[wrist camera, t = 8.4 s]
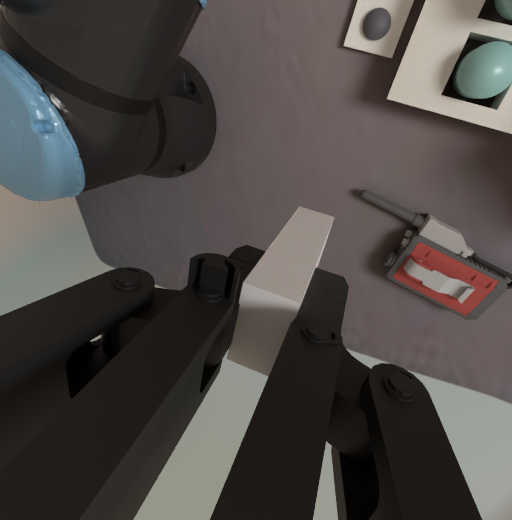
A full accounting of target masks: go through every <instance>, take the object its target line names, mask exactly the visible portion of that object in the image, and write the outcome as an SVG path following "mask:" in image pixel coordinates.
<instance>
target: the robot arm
mask: <svg viewBox="0 0 512 520" xmlns="http://www.w3.org/2000/svg"><path fill="white" fill-rule="evenodd" d="M0 5H1V9H0V184H1V185H2V186H4V187H5V188H6V189H8V190H10V191H11V192H13V193H14V194H17V195H19V196H21V197H24V198H26V199H30V200H35V201H36V200H38V201H49V200H54V199H58V198H64V197H75V196H77V195H79V194H80V193H81V192H84V191H87V190H90V189H94V188H97V187H100V186H103V185H106V184H109V183H113V182H116V181H119V180H122V179H125V178H128V177H132V176H135V175H137V174H143V175H148V176H154V177H159V178H172V177H177V176H180V175H183V174H186V173H188V172H191V171H193V170H194V169H196V168H197V167H198V166H199V165H201V164H202V162H203V161H204V160H205V159H206V157H207V156H208V154H209V152H210V150H211V148H212V146H213V143H214V139H215V134H216V111H215V105H214V101H213V98H212V95H211V92H210V90H209V88H208V86H207V84H206V82H205V80H204V79H203V77H202V76H201V74H200V73H199V72H198V71H197V70H196V68H195V67H194V66H193V65H191V64H190V63H189V62H188V61H187V60H185V59H184V58H182V57H180V56H179V54H180V52H181V50H182V48H183V46H184V44H185V42H186V40H187V38H188V36H189V34H190V32H191V30H192V28H193V26H194V24H195V22H196V20H197V18H198V16H199V14H200V12H201V10H202V9H203V10H204V9H205V7H206V5H207V0H0ZM333 220H334V217H332V216H329V215H325V214H322V213H319V212H316V211H313V210H309V209H306V208H303V207H300V206H299V208H298V209H297V210H296V212H295V213H294V214H293V216H292V217H291V218H290V220H289V221H288V223H287V224H286V225H285V227H284V228H283V229H282V231H281V232H280V233H279V235H278V236H277V237H276V239H275V240H274V241H273V243H272V244H271V245H270V247H269V248H268V250H267V251H263V250H260V249H257V248H254V247H251V246H248V245H245V246H242V247H239V248H237V249H235V250H234V251H233V252H232V253H231V254H230V255H229V257H226V256H223V255H219V254H213V253H204V254H199V255H196V256H194V257H192V258H191V259H190V267H189V276H188V285H187V286H186V287H185V288H184V289H183V290H169V289H163V288H155V287H154V286H155V282H154V278H153V276H151V275H150V274H149V273H148V272H146V271H144V270H141V269H138V268H131V267H127V268H118V269H114V270H110V271H108V272H105V273H103V274H101V275H98V276H96V277H93V278H91V279H89V280H86V281H84V282H81V283H79V284H76V285H74V286H72V287H69V288H67V289H64V290H62V291H60V292H57V293H55V294H53V295H50V296H48V297H45V298H43V299H40V300H38V301H35V302H33V303H31V304H28V305H26V306H23V307H21V308H19V309H16V310H14V311H12V312H9V313H7V314H4V315H2V316H0V520H133V519H134V517H135V516H136V514H137V512H138V510H139V509H140V507H141V505H142V504H143V502H144V500H145V498H146V497H147V495H148V493H149V491H150V490H151V488H152V486H153V485H154V483H155V481H156V480H157V478H158V476H159V474H160V473H161V471H162V469H163V468H164V466H165V464H166V462H167V461H168V459H169V457H170V456H171V454H172V452H173V451H174V449H175V447H176V445H177V444H178V442H179V440H180V439H181V437H182V435H183V433H184V432H185V430H186V428H187V426H188V425H189V423H190V421H191V420H192V418H193V416H194V415H195V413H196V411H197V409H198V408H199V406H200V404H201V403H202V401H203V399H204V397H205V396H206V394H207V392H208V391H209V389H210V387H211V385H212V384H213V382H214V380H215V379H216V377H217V375H218V373H219V371H220V368H221V364H222V359H223V357H224V355H225V354H226V352H227V350H228V349H229V351H228V355H227V359H228V360H231V361H233V362H236V363H238V364H241V365H243V366H245V367H248V368H250V369H253V370H255V371H257V372H259V373H262V374H264V375H267V376H269V377H268V380H267V382H266V385H265V387H264V389H263V392H262V394H261V397H260V399H259V402H258V404H257V406H256V409H255V411H254V414H253V416H252V419H251V421H250V423H249V426H248V428H247V431H246V433H245V436H244V438H243V441H242V443H241V445H240V448H239V450H238V453H237V455H236V458H235V460H234V463H233V465H232V467H231V470H230V472H229V475H228V478H227V480H226V482H225V484H224V487H223V489H222V492H221V494H220V497H219V499H218V502H217V504H216V506H215V509H214V511H213V514H212V516H211V519H210V520H313V515H314V509H315V503H316V497H317V491H318V485H319V479H320V474H321V468H322V462H323V456H324V450H325V444H326V441H327V442H328V443H329V444H331V445H332V449H331V452H332V463H333V472H334V483H335V493H336V502H337V511H338V520H482V518H481V516H480V514H479V511H478V509H477V506H476V504H475V502H474V499H473V497H472V495H471V492H470V490H469V487H468V485H467V483H466V480H465V478H464V475H463V473H462V471H461V468H460V466H459V464H458V461H457V459H456V456H455V454H454V452H453V450H452V447H451V444H450V442H449V440H448V437H447V435H446V433H445V430H444V428H443V425H442V423H441V421H440V418H439V416H438V414H437V411H436V409H435V406H434V404H433V402H432V399H431V397H430V395H429V393H428V391H427V390H426V388H425V386H424V385H423V383H422V382H421V381H420V380H419V379H417V378H416V377H415V376H414V375H413V374H412V373H410V372H408V371H407V370H405V369H404V368H401V367H399V366H396V365H393V364H385V363H381V364H378V365H375V366H373V367H372V369H370V368H369V367H367V366H366V365H364V364H362V363H361V362H360V361H358V360H357V359H356V358H354V357H353V356H352V355H351V354H350V353H349V352H348V351H347V350H346V348H345V347H344V345H343V343H342V336H341V335H340V333H341V327H342V322H343V316H344V311H345V304H346V300H347V294H348V289H349V286H348V284H347V282H346V280H345V278H344V277H342V276H339V275H336V274H333V273H330V272H327V271H324V270H322V269H319V268H317V267H318V264H319V261H320V258H321V255H322V252H323V249H324V246H325V244H326V241H327V238H328V235H329V232H330V229H331V226H332V223H333ZM99 335H101V338H100V339H98V340H96V341H93V342H90V340H92V339H93V338H95V337H97V336H99Z"/></svg>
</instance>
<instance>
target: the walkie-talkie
mask: <svg viewBox="0 0 512 520" xmlns="http://www.w3.org/2000/svg"><path fill="white" fill-rule="evenodd" d="M360 196H361V198H363V199H365V200H367V201H369V202H371V203H373V204H375V205H377V206H379V207H381V208H383V209H385V210H387V211H389V212H391V213H393V214H395V215H397V216H399V217H401V218H403V219H405V220H407V221H409V222H411V224H412V225H414V226H416V227H418V229H414V230H409V229H408V230H407V231H406V232H405V236H406V237H407V239H406V238H404V239H403V240H402V242H401V244H402V245H401V247H400V248H399V250H398V251H397V252H396V253H395V252H394V251H391V252H389V253H388V255H387V256H386V258H385V260H384V263H383V265H384V266H385V267H386V276H387V278H388V279H390V280H392V281H393V282H395V283H397V284H399V285H401V286H403V287H405V288H407V289H409V290H411V291H412V292H414V293H416V294H418V295H421V296H423V297H424V298H427V299H428V300H431V302H435V303H436V304H438V305H440V306H442V307H444V308H445V309H448V310H449V311H452V313H456V314H457V315H459V316H461V317H462V318H465V319H477V318H478V317H480V316H481V315H482V314H483V313H484V312H485V311H486V310H487V309H488V308H489V307H490V306H491V305H492V304H493V303H494V302H495V301H496V300H497V299H498V298H499V297H500V296H501V295H502V294H503V293H504V292H505V291H506V289H510V288H512V282H510V283H509V284H507V283H506V279H505V278H504V276H506V277H508V278H510V279H511V280H512V274H510V273H508V272H506V271H504V270H502V269H500V268H498V267H496V266H494V265H492V264H490V263H488V262H486V261H484V260H482V259H480V258H479V257H477V255H476V254H475V253H474V251H473V249H472V248H470V247H468V246H466V244H465V242H464V239H463V237H462V234H461V233H460V231H459V230H458V229H456V228H454V227H452V226H450V225H448V224H446V223H444V222H442V221H440V220H438V219H436V218H435V216H433V215H430V214H428V216H427V217H426V218H424V217H422V216H420V215H419V214H414V213H412V212H410V211H408V210H406V209H404V208H402V207H400V206H398V205H396V204H394V203H391V202H389V201H387V200H385V199H383V198H381V197H379V196H377V195H375V194H373V193H371V192H369V191H367V190H363V191H361V193H360ZM471 256H473V257H471ZM503 275H504V276H503Z"/></svg>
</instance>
